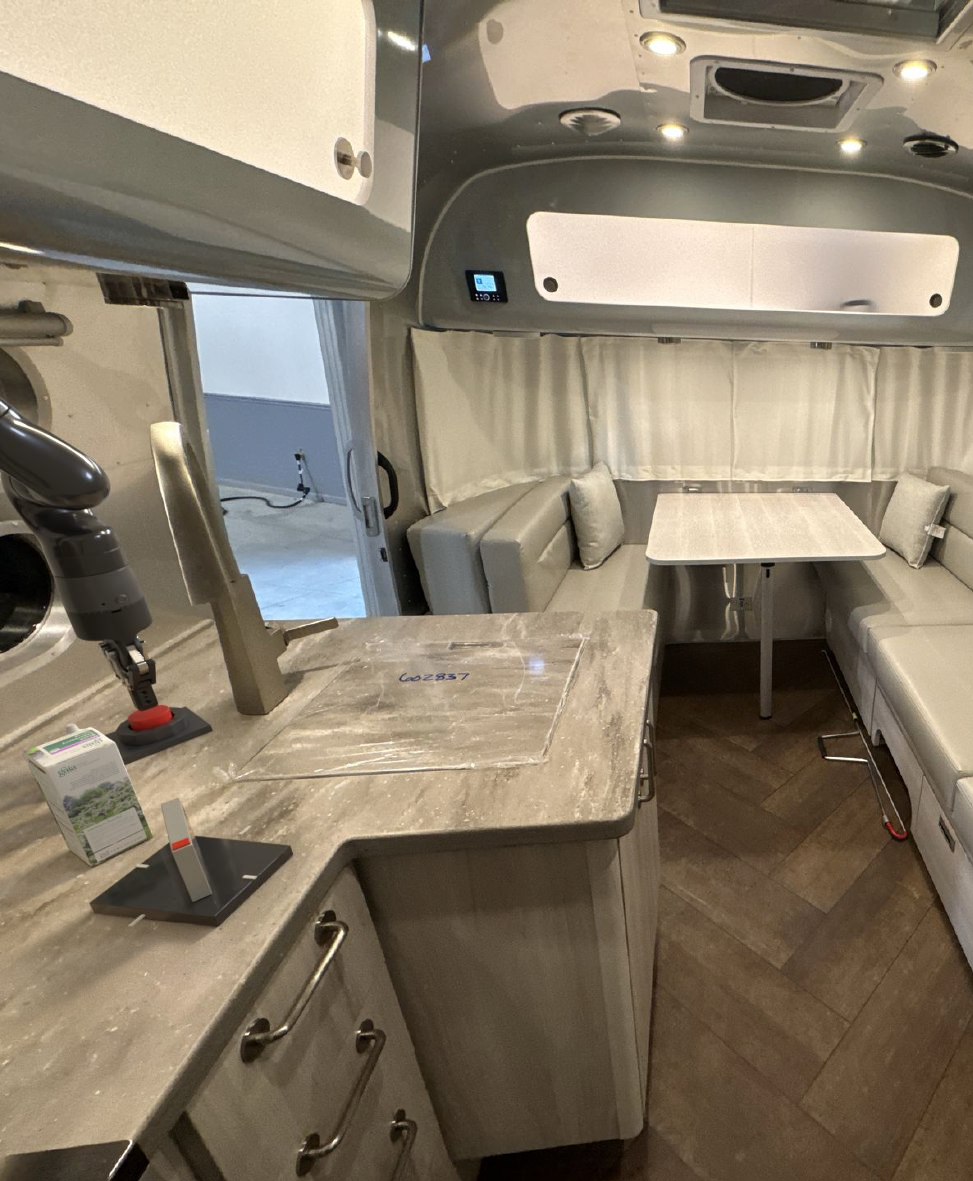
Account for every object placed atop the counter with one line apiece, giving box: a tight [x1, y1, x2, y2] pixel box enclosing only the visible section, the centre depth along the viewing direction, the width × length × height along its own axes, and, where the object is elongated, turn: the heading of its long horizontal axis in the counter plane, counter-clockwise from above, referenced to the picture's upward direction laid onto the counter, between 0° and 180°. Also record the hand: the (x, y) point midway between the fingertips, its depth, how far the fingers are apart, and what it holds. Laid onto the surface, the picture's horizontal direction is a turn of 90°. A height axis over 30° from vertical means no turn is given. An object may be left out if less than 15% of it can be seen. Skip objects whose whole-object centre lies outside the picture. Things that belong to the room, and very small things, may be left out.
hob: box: [88, 825, 294, 928], centre depth 71 cm, size 14×14×2 cm
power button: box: [127, 704, 172, 731], centre depth 93 cm, size 4×4×2 cm
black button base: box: [104, 706, 214, 766], centre depth 94 cm, size 10×9×3 cm
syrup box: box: [22, 726, 154, 868], centre depth 73 cm, size 6×6×14 cm
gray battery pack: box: [160, 797, 212, 902], centre depth 69 cm, size 10×2×7 cm, turn 47°
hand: (147, 707), depth 92 cm, fingers closed
